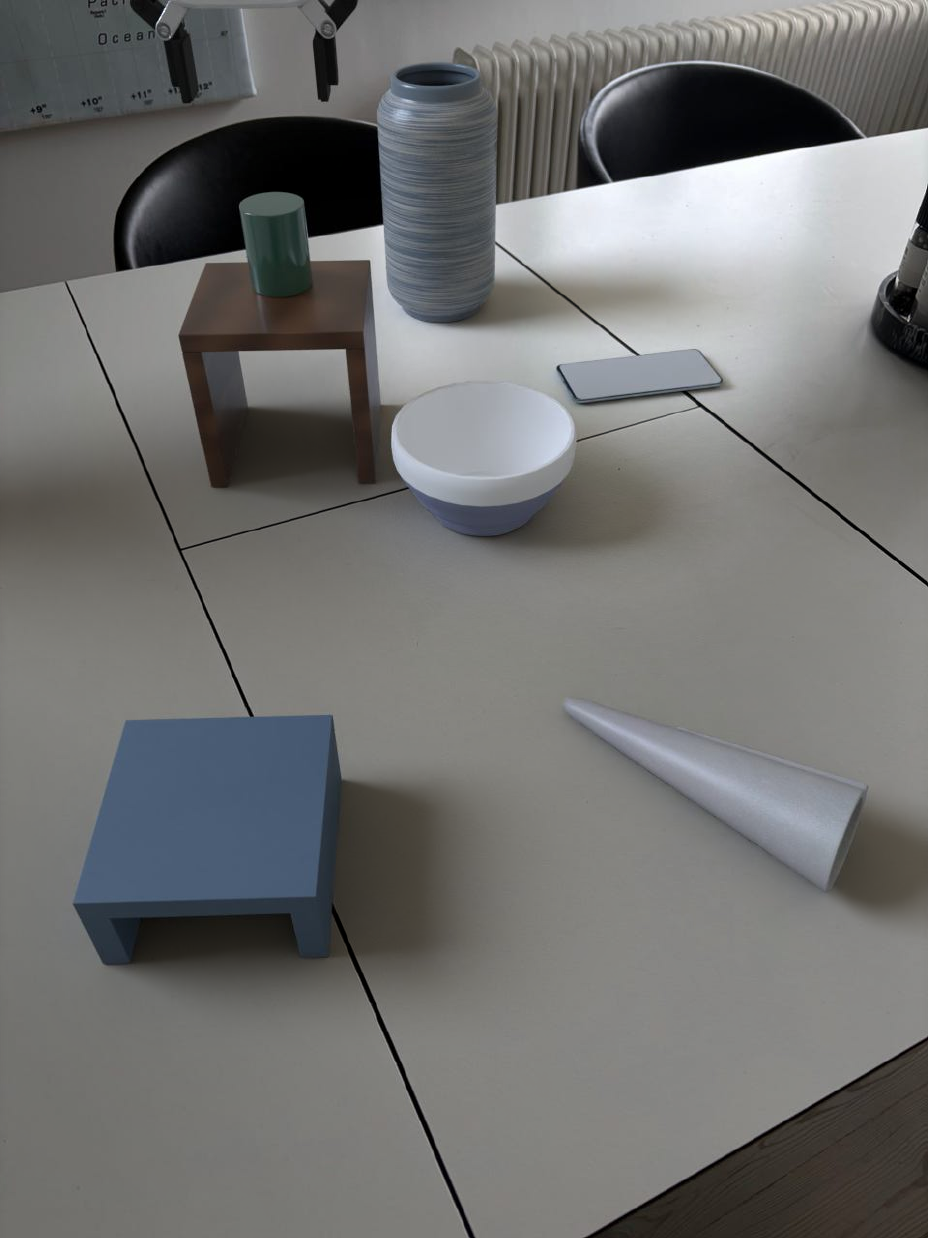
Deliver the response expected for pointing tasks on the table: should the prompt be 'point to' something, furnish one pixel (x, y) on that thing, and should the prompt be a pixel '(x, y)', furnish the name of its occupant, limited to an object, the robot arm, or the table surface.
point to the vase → (438, 189)
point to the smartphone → (638, 375)
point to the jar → (276, 243)
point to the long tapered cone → (743, 788)
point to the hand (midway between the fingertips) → (258, 96)
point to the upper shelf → (255, 322)
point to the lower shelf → (215, 828)
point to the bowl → (483, 453)
